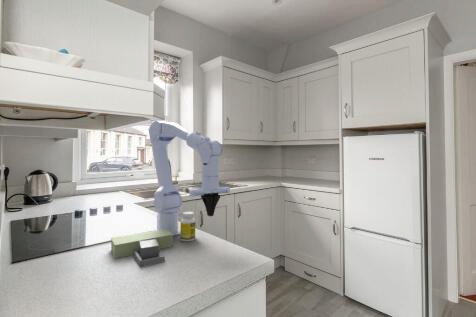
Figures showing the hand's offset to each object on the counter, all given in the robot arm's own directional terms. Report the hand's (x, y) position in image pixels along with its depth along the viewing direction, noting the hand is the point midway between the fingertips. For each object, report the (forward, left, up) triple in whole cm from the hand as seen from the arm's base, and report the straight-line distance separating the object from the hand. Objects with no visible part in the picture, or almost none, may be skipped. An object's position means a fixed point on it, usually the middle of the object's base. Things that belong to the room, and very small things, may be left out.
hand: (210, 215), depth 87 cm
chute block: (-2, -20, -11) cm, 23 cm away
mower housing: (-5, -20, -10) cm, 23 cm away
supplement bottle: (-10, -4, -11) cm, 15 cm away
